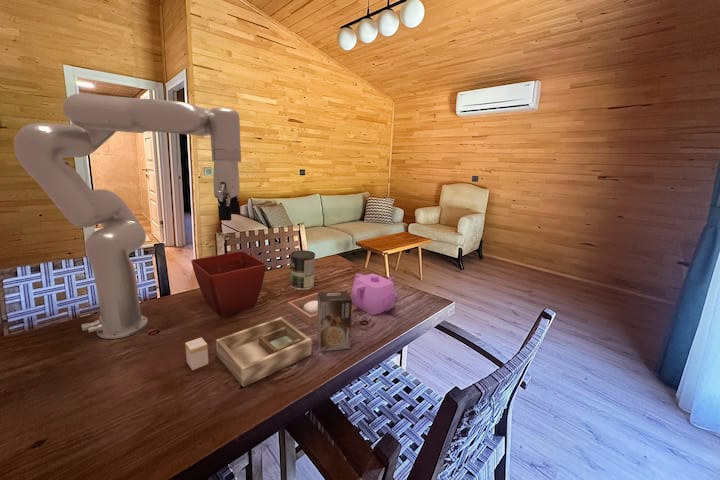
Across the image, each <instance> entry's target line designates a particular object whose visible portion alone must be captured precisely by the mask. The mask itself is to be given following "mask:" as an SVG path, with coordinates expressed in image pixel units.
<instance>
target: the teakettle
mask: <svg viewBox="0 0 720 480" xmlns="http://www.w3.org/2000/svg"><path fill="white" fill-rule="evenodd" d="M353 280H354V281H353V284H352V289H351V293H350V297H351V299H352V304H353V306H355V307H356V308H358V309H360V310H361V311H363V312H365V313H367V314H369V315H371V314H372V315H371V316H377V314H378V315H380V314H379V313H381V314H383V313H385V312H384V311H386V312H388V311H390V310H389V309H391V308H392V309H394V306H395V304H396V298H397V297H398V295H399V293H397V292H396V289H395V284H394V282H395V278H394V277H393V276H389V277H388V278H386V277H383V276H381V275H379V274H375V273H370V274H365V275H364V274H361V273H356V274H354V278H353ZM392 309H391V310H392ZM387 310H388V311H387ZM382 312H383V313H382Z"/></svg>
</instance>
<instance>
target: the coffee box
mask: <svg viewBox="0 0 720 480" xmlns="http://www.w3.org/2000/svg"><path fill="white" fill-rule="evenodd" d="M317 293H318V318H317V323H316V324H317V326H316V328H317V329H316V331H317V333H316V341H317V345H318V349H319V352H320V353H322V352H331V351H332V352H333V351H339V350H349V349H351V331H352V330H351V329H352V310H353V305H352V304H353V303H352V299H351V294H350V293H348V291H347V290H343V291H342V290H339V291H327V292H326V291H325V292H317Z"/></svg>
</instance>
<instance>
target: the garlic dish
mask: <svg viewBox="0 0 720 480" xmlns="http://www.w3.org/2000/svg"><path fill="white" fill-rule="evenodd" d="M318 293H319V292H316V293H312V294H309V295H307V296H306V295H305V296H303V297H300V298H297V299H294V300H290V301H288V302H287V311H289V312H290V313H292V314H293V315H295V316H296V317H297V318H299V319H301V320H302V321H303V322H305V323H306V324H307V325H309V326H312V325H314V324H317V318H318V313H316V314H313V315H309V314H308V313H306V312H305V311H304V309H301V308H300V307H304V305H305V304H306V303H308V302H310V301H318Z"/></svg>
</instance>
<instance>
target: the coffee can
mask: <svg viewBox="0 0 720 480" xmlns="http://www.w3.org/2000/svg"><path fill="white" fill-rule="evenodd" d="M289 255H290V257H289V258H290V266H289V268H290V271H289V272H290V273H289V274H290V275H289V276H290V277H289V278H290V279H289V280H290V281H289V283H290V284H289V286H290V287H291V288H292V289H295V290H299V291H305V290H309V289H310V290H311V289H312V288H314V286H315V262H316V261H315V259H316V258H315V257H316V253H315V252H313V251H311V250H304V249H303V250H302V249H300V250H295V251H292V252H290V253H289Z"/></svg>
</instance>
